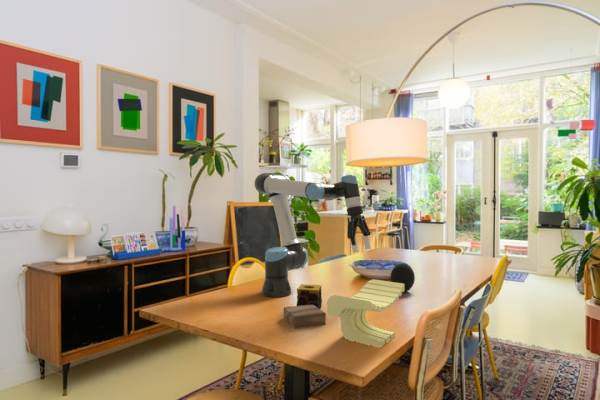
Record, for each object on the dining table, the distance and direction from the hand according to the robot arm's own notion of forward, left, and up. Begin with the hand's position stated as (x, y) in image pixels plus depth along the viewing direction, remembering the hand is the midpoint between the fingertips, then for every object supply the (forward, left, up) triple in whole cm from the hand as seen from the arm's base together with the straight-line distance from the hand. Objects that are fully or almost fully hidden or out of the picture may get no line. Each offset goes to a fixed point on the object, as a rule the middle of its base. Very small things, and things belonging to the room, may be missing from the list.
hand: (362, 250), depth 189 cm
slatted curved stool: (+40, -22, -25) cm, 52 cm away
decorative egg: (-10, +31, -25) cm, 41 cm away
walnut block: (+15, -36, -25) cm, 47 cm away
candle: (0, -27, -25) cm, 37 cm away
